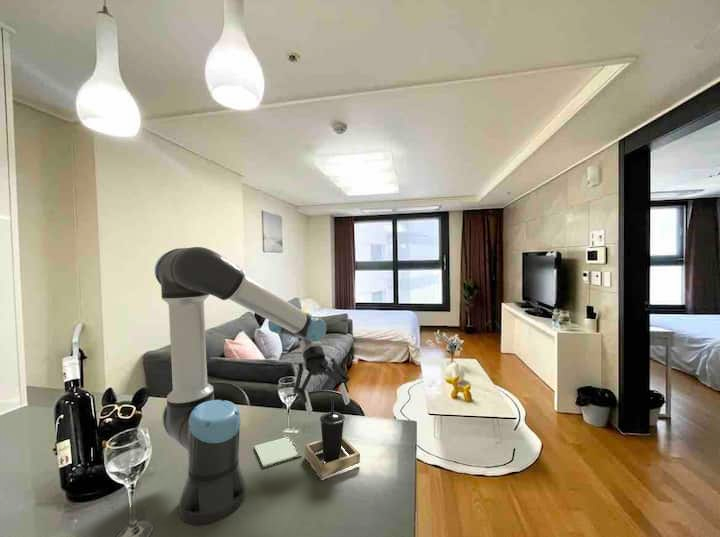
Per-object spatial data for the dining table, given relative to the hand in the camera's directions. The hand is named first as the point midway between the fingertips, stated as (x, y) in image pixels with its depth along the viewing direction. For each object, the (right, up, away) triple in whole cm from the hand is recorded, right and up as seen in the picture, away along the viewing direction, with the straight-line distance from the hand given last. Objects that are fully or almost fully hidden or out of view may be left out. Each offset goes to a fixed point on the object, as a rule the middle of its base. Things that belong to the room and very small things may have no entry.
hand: (329, 407), depth 100 cm
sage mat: (-17, -14, -1) cm, 22 cm away
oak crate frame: (+1, -14, -5) cm, 15 cm away
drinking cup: (+1, -15, -5) cm, 16 cm away
